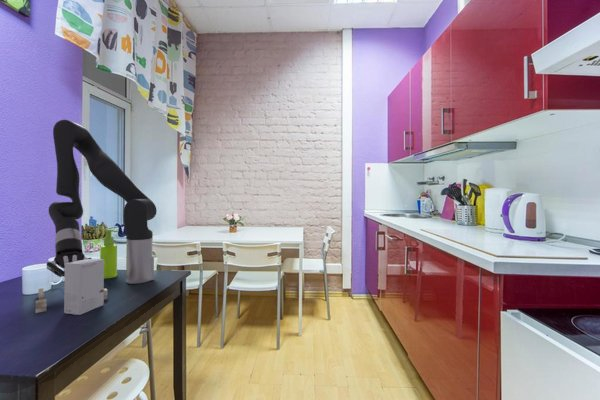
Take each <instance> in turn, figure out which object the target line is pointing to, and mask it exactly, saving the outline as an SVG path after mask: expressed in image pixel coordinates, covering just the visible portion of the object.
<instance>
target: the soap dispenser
mask: <svg viewBox="0 0 600 400" xmlns="http://www.w3.org/2000/svg"><path fill="white" fill-rule="evenodd" d="M103 232H105V233H106V236H105V237H103V245H100V246H99V248H100V250H99V259H104V280H105V279H106V280H107V279H111V278H116V277H117V276H118V245H117V244H115V243H114V241H115V240H114V239H115V238H114V236H112V232H114V233H118V232H120V230H119V229H115V228H114V229H111V228H110V229H104V230H103Z"/></svg>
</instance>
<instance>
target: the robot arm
mask: <svg viewBox="0 0 600 400" xmlns="http://www.w3.org/2000/svg"><path fill="white" fill-rule="evenodd" d="M52 135H53V144H54V151H55V158H56V160H55V161H56V169H57V170H56V171H57V172H56V173H57V174H56V185H55V186H56V189H55V191H56V194H57V195H58V196H61V197H66V198H69V199H70V200H71V201H54V202H52V203H51V204H50V205H49V207H48V214H49V217H50V219H51V220H52V222H53V224H54V228H55V229H54V230H55V240H54V247H55V257H54V259H53V261H48V262H47V263H46V269H47V270H48V271H49V272H51V273H53V274H54V275H56V276H57V277H59V278H62V277H64V278H65V264H66V263H70V262H75V261H80V260H85V259H93V258H92V257H86V256H85V254H84V253H83V243H82V235H81V233H80V224H79V221H78V220H79V219H81V218H82V217H83V215H84V208H83V205H82V202H81V201H82V200H81V197H80V171H79V169H78V166H77V163H76V159H75V157H74V148H75V149H76V150H77V151H78V152H79V153H80V154H81V156H83V157H84V158H85V160H86V162H87V165H88V166H87V167H88V169H89V171H90V173H91V174H92V175H93V176H94V178H95V179H96V180H97V181H98V182H99V184H101V185H102V186H103V187H105V188H106V189H107V190H110V191H111V192H113V194H116V195H117V196H119V197H121V198H122V199H123V200H124V201H125V202H126V203H125V205H124V207H123V228H124V229H123V230H124V233H125V235H126V236H125V237H126V259H125V260H126V265H125V266H126V268H125V269H126V271H125V272H126V273H125V274H126V275H125V281H126V283H127V284H131V285H132V284H135V285H137V284H143V283H147V282H150V281H154V280H155V257H154V255H153V246H154V245H153V243H154V242H153V236H154V235H153V231H152V230H150V228H149V227H148V221H150V220H153V219H154V218H155V217H156V215H157V211H158V210H157V207H156V204H155V203H154V202H153V200H151V199H150V198H149V197H148V196H147V195H146V194H144V193H143V192H142V191H141V190H140V189H139V188H138V187H137V186H136V185H135V183H134V182H133V181H132V180H131V179H130V178H129V176H127V174H126V173H125V172H124V171H123V169H121V168H120V167H119V165H118V164H117V163H116V162H115V161H114V160H113V159H112V158H111V157H110V156H109V155H108V154H107V153H106V152H105V150H103V149H102V148H101V146H100V145H99V144H98V142H97V141H96V140H95V139H94V137H93V136H92V134H91V133H90V132H89V130H88V129H87V128H86V127H84V126H82V125H81V124H78V123H77V122H74V121H72V120H70V119H60V120H58V121H57V122H56V123H55V124H54V126H53V129H52Z"/></svg>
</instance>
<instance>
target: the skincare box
mask: <svg viewBox="0 0 600 400" xmlns="http://www.w3.org/2000/svg"><path fill="white" fill-rule="evenodd" d="M104 280H105V279H104V259H100V258H92V259H85V260H80V261H75V262H70V263H66V264H65V277H64V287H63V288H64V290H63V291H64V294H63V295H64V297H63V298H64V299H63V300H64V302H63V303H64V304H63V306H64V307H63V313H64V314H68V315H69V314H70V315H75V316H80V315H83V314H86V313H88V312H91V311H93V310H95V309H98V308H100V307H102V306H104V301H105V300H104V289H105V288H104V287H105V282H104Z"/></svg>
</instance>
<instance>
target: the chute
mask: <svg viewBox="0 0 600 400" xmlns="http://www.w3.org/2000/svg"><path fill="white" fill-rule="evenodd" d="M108 291H109V290H108V289H107V288H104V301H105V300H108V297H109V296H108ZM47 306H48V304H47V298H45V297H44V288H38V299H36V300H35V314H38V313H43V312H47V311H48V309H47Z"/></svg>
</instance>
